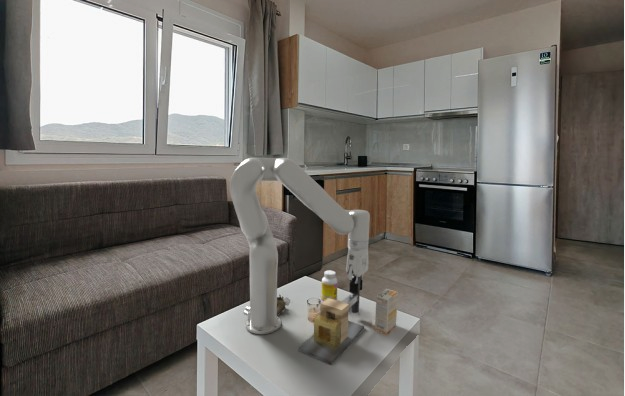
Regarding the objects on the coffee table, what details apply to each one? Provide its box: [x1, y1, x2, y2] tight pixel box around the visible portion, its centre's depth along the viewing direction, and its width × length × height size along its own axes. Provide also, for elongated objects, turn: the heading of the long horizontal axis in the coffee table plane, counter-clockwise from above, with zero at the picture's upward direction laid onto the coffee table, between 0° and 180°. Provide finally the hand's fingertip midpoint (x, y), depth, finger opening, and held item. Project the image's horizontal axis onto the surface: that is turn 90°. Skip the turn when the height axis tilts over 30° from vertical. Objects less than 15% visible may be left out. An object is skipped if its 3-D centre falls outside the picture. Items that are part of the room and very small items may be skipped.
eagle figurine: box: [277, 294, 291, 317], centre depth 126 cm, size 8×7×9 cm
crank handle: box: [330, 276, 361, 318], centre depth 115 cm, size 3×18×14 cm, turn 148°
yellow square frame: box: [313, 314, 340, 349], centre depth 104 cm, size 8×3×8 cm, turn 58°
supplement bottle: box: [320, 269, 339, 303], centre depth 135 cm, size 7×7×13 cm
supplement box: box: [374, 288, 399, 335], centre depth 116 cm, size 8×5×13 cm, turn 141°
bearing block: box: [298, 298, 365, 365], centre depth 108 cm, size 12×24×13 cm, turn 148°
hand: (355, 290), depth 121 cm, fingers closed on crank handle, 3 cm apart
